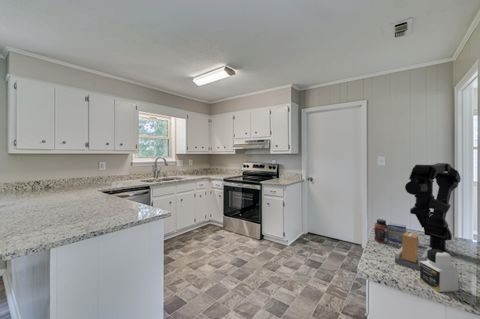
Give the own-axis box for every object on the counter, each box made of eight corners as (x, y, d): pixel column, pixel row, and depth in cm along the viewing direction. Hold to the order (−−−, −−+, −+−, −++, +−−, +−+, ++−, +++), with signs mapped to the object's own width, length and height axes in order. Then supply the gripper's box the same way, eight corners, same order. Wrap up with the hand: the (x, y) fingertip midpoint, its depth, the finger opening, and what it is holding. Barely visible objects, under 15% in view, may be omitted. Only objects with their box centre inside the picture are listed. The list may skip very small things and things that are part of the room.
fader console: (406, 249, 104) (406, 241, 104) (431, 256, 97) (431, 247, 97) (395, 262, 91) (395, 253, 91) (422, 271, 85) (422, 261, 84)
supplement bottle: (390, 244, 111) (390, 222, 110) (377, 243, 112) (377, 221, 112) (384, 239, 116) (385, 218, 116) (372, 238, 118) (372, 218, 117)
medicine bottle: (419, 280, 79) (419, 247, 79) (437, 279, 79) (438, 246, 79) (439, 292, 72) (439, 256, 71) (458, 291, 72) (459, 255, 72)
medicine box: (387, 240, 115) (387, 224, 115) (387, 238, 119) (387, 222, 119) (405, 244, 111) (406, 227, 111) (405, 241, 114) (405, 224, 114)
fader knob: (404, 255, 93) (405, 232, 93) (417, 259, 89) (418, 235, 89) (402, 258, 90) (402, 234, 90) (415, 262, 87) (415, 237, 87)
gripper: (445, 198, 84) (445, 237, 85) (451, 192, 97) (451, 227, 97) (410, 194, 93) (409, 230, 93) (419, 189, 105) (419, 221, 105)
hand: (423, 227), depth 97 cm, fingers closed
